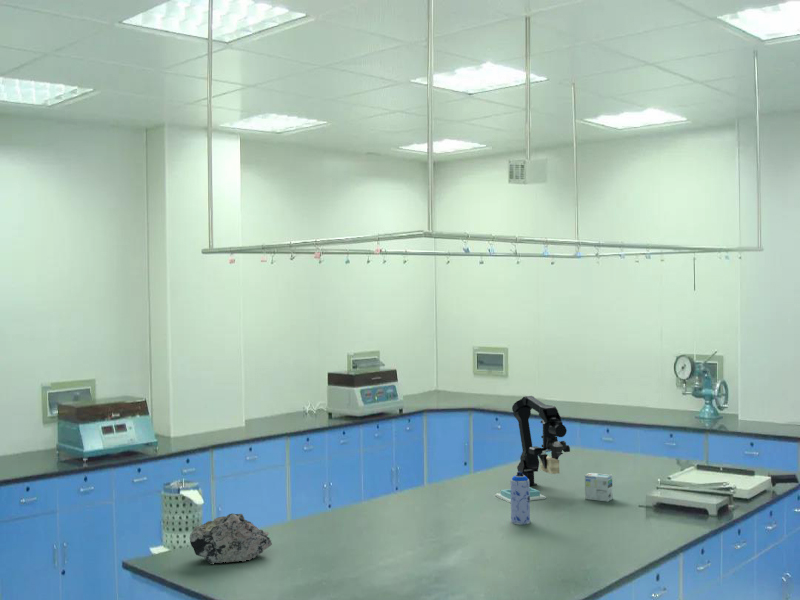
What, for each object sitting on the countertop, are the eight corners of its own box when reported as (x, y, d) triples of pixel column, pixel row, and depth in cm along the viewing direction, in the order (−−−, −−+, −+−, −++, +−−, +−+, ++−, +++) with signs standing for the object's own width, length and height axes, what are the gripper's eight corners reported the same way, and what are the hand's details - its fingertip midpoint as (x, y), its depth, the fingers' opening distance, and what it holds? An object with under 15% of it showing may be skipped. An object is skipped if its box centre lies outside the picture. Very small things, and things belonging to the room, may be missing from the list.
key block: (540, 469, 384) (540, 456, 384) (547, 469, 385) (547, 456, 385) (551, 474, 375) (551, 460, 375) (559, 473, 376) (559, 460, 376)
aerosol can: (530, 524, 328) (529, 474, 328) (510, 524, 330) (509, 473, 329) (531, 519, 336) (530, 470, 336) (511, 518, 337) (510, 469, 337)
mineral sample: (255, 508, 307) (262, 498, 295) (269, 557, 301) (278, 549, 289) (182, 530, 295) (187, 521, 283) (196, 582, 289) (202, 575, 277)
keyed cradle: (495, 495, 377) (494, 489, 377) (529, 492, 383) (529, 485, 383) (509, 502, 364) (509, 495, 364) (545, 498, 370) (545, 491, 370)
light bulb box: (613, 498, 368) (612, 474, 368) (608, 502, 363) (608, 477, 363) (589, 496, 374) (589, 472, 374) (584, 499, 368) (584, 474, 368)
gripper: (540, 438, 369) (540, 473, 369) (576, 435, 376) (577, 469, 376) (527, 434, 380) (528, 468, 380) (563, 431, 386) (563, 465, 386)
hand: (549, 468), depth 380 cm, fingers closed on key block, 4 cm apart
